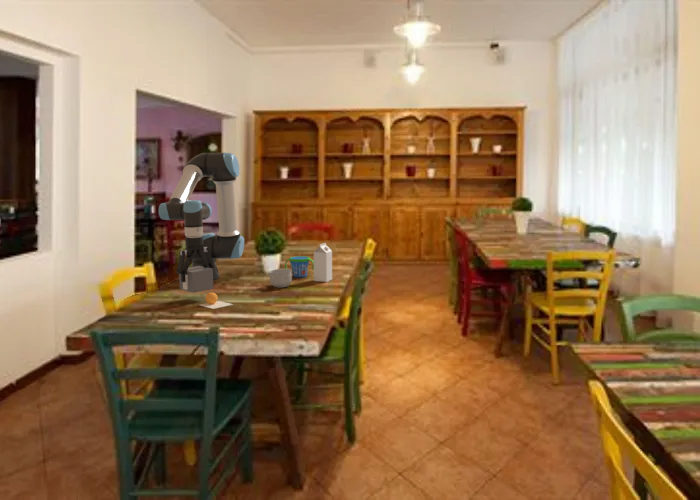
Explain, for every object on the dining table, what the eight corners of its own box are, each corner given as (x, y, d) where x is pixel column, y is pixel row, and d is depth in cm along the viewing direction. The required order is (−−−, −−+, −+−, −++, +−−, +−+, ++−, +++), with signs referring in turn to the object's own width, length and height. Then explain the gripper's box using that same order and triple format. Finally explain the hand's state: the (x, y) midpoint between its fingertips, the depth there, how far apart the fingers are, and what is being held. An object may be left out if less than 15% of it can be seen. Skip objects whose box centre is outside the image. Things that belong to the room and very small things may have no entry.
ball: (210, 297, 241) (208, 307, 243) (221, 296, 244) (218, 305, 246) (204, 290, 243) (202, 300, 245) (214, 289, 247) (212, 298, 249)
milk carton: (313, 281, 294) (313, 244, 292) (319, 278, 301) (319, 242, 298) (326, 282, 292) (326, 244, 289) (332, 279, 298) (332, 243, 295)
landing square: (198, 305, 243) (198, 304, 243) (218, 301, 250) (218, 300, 250) (213, 309, 236) (213, 308, 236) (233, 304, 244) (233, 304, 244)
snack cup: (282, 277, 304) (282, 258, 303) (289, 274, 314) (288, 255, 313) (310, 279, 300) (310, 259, 299) (316, 275, 310) (316, 256, 309)
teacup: (287, 289, 275) (287, 272, 274) (266, 288, 277) (265, 271, 276) (296, 283, 289) (296, 267, 287) (275, 282, 291) (275, 267, 290)
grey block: (179, 289, 252) (178, 269, 250) (199, 285, 260) (198, 265, 258) (193, 292, 245) (192, 272, 244) (213, 288, 253) (212, 268, 251)
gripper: (175, 240, 238) (178, 293, 241) (221, 234, 255) (223, 283, 258) (165, 238, 243) (168, 290, 246) (211, 232, 260) (213, 281, 263)
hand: (196, 287), depth 252 cm, fingers closed on grey block, 10 cm apart
